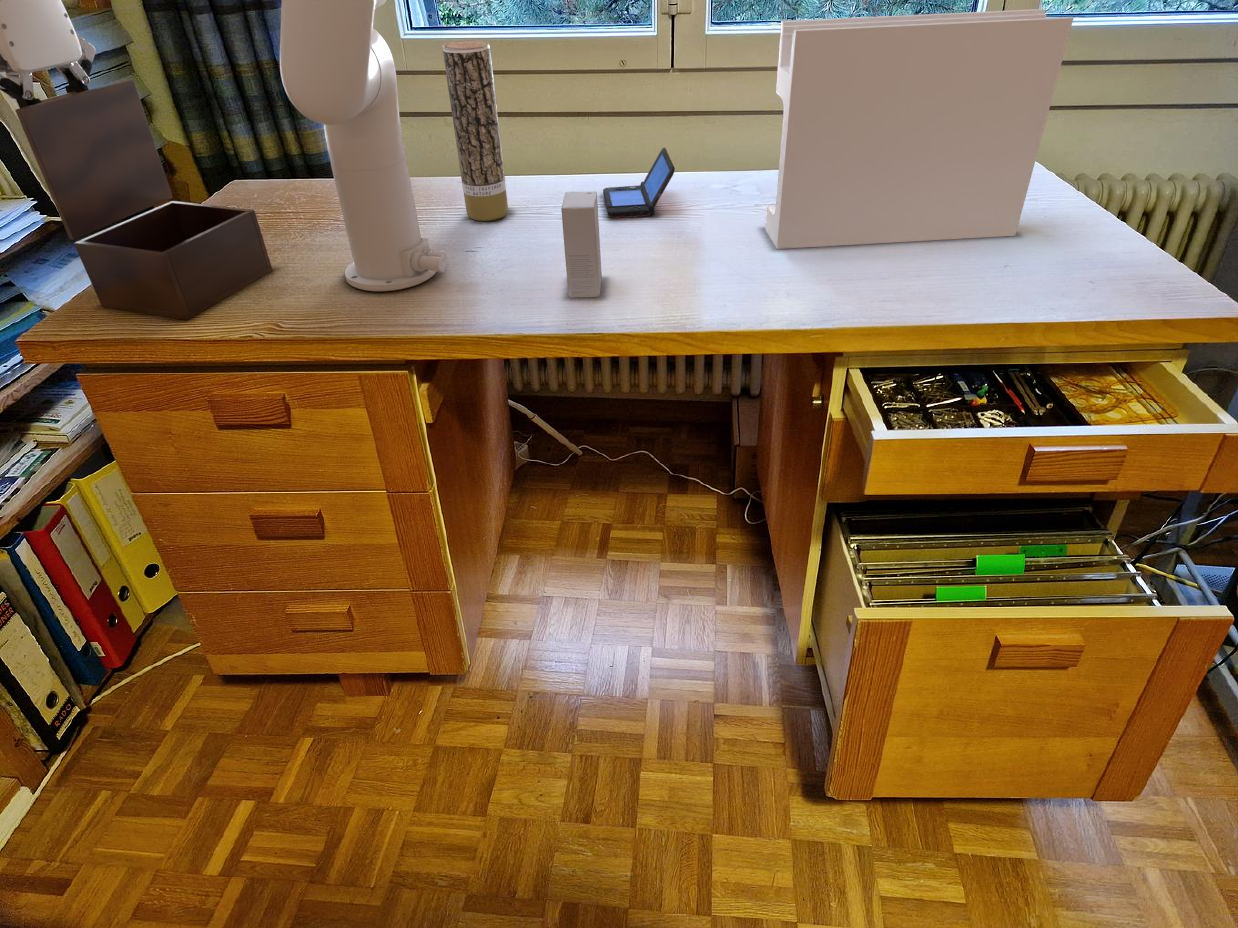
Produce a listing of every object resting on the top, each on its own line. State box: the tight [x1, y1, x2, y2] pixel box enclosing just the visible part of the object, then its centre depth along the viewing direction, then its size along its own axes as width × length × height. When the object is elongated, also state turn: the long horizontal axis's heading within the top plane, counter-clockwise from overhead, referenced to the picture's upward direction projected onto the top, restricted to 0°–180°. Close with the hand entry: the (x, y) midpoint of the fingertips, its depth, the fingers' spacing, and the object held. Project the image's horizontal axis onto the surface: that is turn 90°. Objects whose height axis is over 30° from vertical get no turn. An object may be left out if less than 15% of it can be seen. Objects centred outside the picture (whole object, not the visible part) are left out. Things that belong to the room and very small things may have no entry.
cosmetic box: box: [561, 190, 603, 299], centre depth 104 cm, size 6×4×12 cm
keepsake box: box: [73, 200, 274, 321], centre depth 110 cm, size 15×17×9 cm
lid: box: [14, 78, 173, 241], centre depth 105 cm, size 16×17×5 cm
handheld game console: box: [602, 147, 676, 219], centre depth 132 cm, size 12×11×7 cm
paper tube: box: [441, 40, 509, 222], centre depth 125 cm, size 7×7×25 cm
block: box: [764, 8, 1074, 250], centre depth 112 cm, size 35×8×28 cm, turn 94°
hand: (65, 124), depth 103 cm, fingers closed on lid, 6 cm apart
